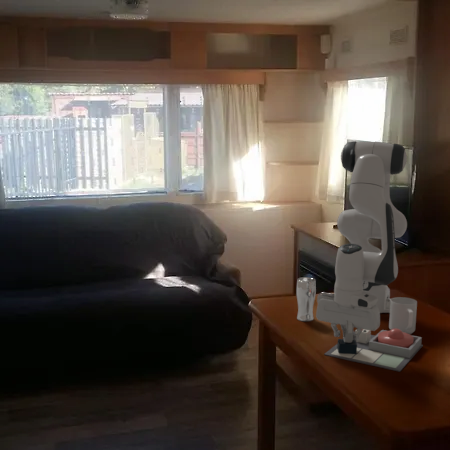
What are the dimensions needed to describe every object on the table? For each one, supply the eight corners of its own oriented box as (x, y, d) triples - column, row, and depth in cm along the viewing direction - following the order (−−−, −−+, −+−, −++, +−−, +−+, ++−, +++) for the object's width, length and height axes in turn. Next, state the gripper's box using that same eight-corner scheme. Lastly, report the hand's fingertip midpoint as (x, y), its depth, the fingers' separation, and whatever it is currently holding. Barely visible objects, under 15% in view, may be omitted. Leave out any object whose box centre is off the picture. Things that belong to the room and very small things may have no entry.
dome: (384, 337, 211) (384, 321, 210) (417, 343, 205) (418, 327, 204) (373, 347, 202) (374, 330, 201) (407, 354, 196) (408, 337, 195)
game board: (352, 332, 218) (353, 319, 218) (422, 345, 206) (423, 332, 205) (324, 354, 198) (324, 341, 197) (399, 371, 185) (400, 357, 184)
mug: (385, 327, 224) (386, 297, 222) (409, 326, 224) (411, 296, 222) (397, 339, 212) (398, 307, 210) (422, 338, 213) (424, 307, 211)
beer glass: (314, 322, 228) (315, 282, 226) (294, 321, 230) (296, 281, 227) (315, 316, 235) (316, 277, 232) (296, 315, 236) (297, 276, 234)
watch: (353, 346, 204) (356, 314, 202) (357, 356, 196) (359, 322, 194) (336, 345, 204) (338, 313, 202) (338, 355, 196) (341, 321, 194)
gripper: (313, 293, 200) (312, 334, 202) (376, 304, 189) (373, 347, 191) (321, 288, 205) (320, 329, 207) (383, 299, 194) (380, 341, 197)
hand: (346, 338), depth 199 cm, fingers closed on watch, 5 cm apart
